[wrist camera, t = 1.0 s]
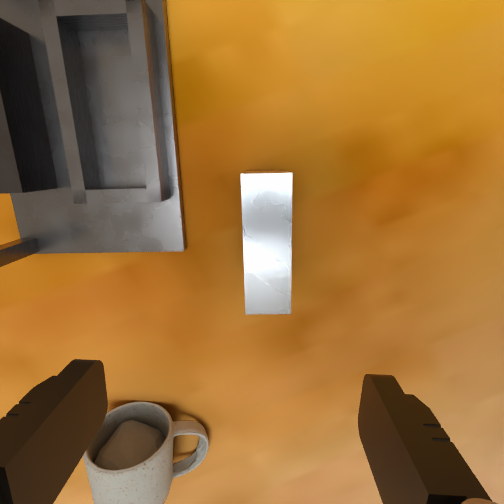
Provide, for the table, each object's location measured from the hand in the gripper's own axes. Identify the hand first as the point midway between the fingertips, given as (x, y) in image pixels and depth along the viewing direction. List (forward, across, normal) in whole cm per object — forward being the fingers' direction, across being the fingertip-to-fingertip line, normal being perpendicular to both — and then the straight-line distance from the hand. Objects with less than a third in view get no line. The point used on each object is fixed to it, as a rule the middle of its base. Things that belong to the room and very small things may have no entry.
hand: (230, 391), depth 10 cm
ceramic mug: (+19, +9, +21) cm, 30 cm away
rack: (+18, +13, -10) cm, 25 cm away
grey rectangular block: (+19, -1, -2) cm, 19 cm away
